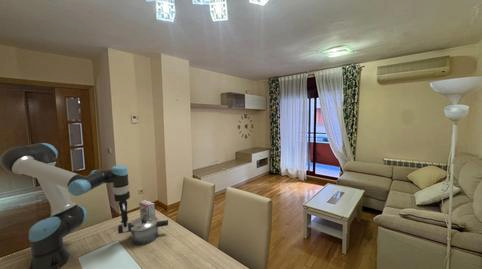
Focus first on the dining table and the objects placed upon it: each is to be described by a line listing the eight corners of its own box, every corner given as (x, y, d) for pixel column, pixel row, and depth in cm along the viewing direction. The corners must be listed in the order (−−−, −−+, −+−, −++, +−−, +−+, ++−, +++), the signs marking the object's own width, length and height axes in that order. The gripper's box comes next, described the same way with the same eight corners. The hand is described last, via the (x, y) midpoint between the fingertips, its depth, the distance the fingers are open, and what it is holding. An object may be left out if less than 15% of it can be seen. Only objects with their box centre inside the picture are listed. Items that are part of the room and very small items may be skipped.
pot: (116, 250, 111) (114, 236, 110) (124, 234, 126) (122, 221, 125) (167, 240, 119) (166, 227, 118) (169, 227, 133) (168, 214, 132)
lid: (116, 237, 109) (115, 231, 108) (120, 222, 123) (120, 217, 123) (157, 227, 117) (157, 222, 117) (157, 215, 131) (157, 210, 131)
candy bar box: (140, 224, 138) (138, 202, 136) (147, 220, 142) (145, 199, 140) (149, 228, 132) (148, 206, 130) (156, 225, 136) (154, 203, 134)
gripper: (130, 194, 107) (134, 234, 110) (128, 187, 118) (131, 223, 121) (114, 198, 103) (119, 239, 106) (113, 190, 113) (117, 228, 116)
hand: (125, 230), depth 113 cm, fingers closed
